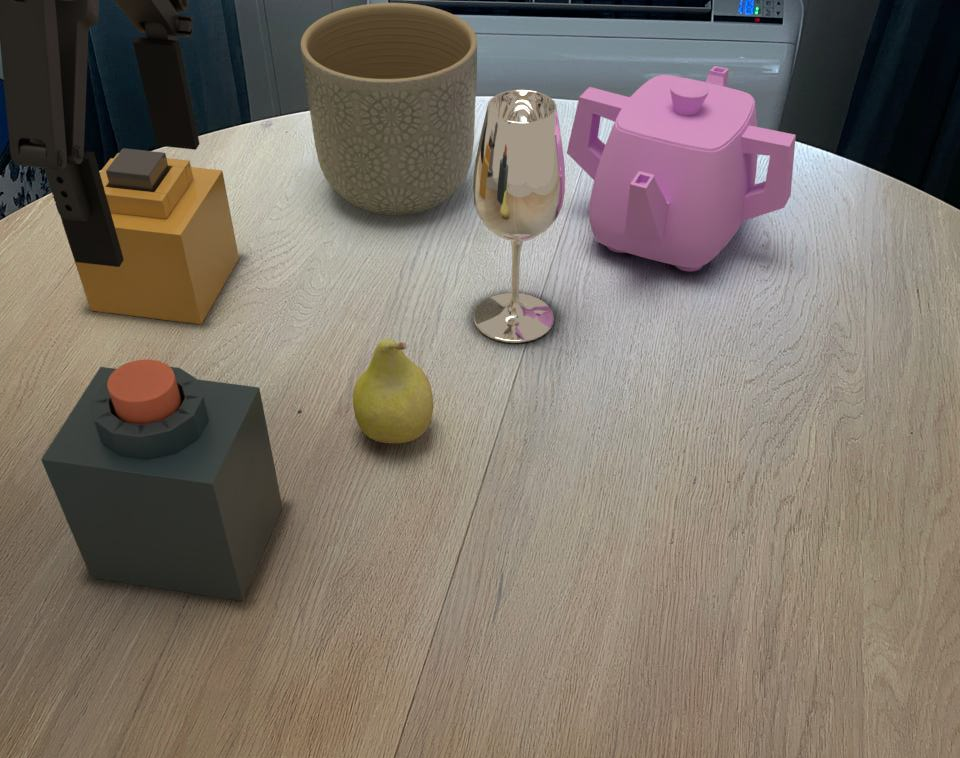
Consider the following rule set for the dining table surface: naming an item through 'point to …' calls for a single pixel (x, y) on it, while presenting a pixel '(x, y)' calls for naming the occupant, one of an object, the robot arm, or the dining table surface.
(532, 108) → the wineglass
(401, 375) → the fruit
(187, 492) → the button box
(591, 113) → the teapot
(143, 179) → the button
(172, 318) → the push-button base
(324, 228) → the dining table surface
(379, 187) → the planter
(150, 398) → the red button
